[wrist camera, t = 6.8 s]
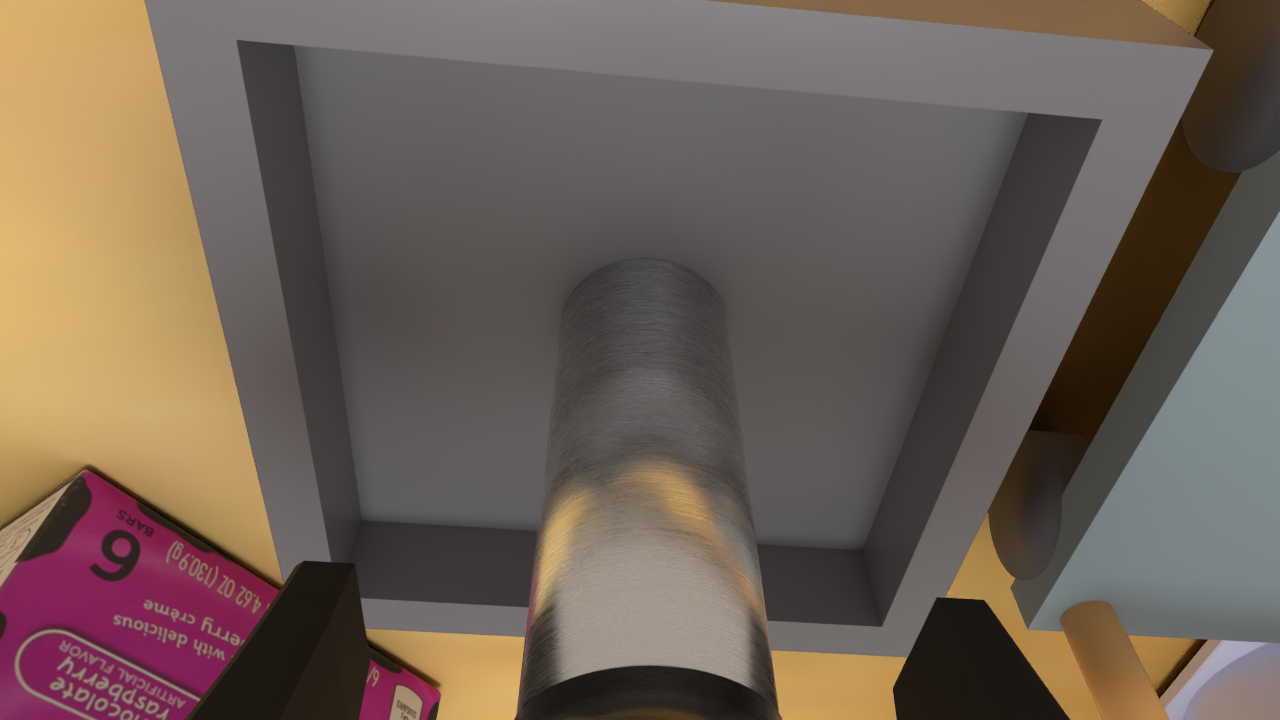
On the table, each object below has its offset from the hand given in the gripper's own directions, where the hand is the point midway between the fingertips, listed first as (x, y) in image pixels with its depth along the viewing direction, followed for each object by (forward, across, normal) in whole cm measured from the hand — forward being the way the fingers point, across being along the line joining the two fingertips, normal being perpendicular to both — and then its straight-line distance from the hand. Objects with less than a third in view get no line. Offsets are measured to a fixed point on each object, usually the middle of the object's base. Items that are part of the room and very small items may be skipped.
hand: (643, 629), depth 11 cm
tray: (+7, 0, 0) cm, 7 cm away
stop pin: (+6, 0, 0) cm, 6 cm away
